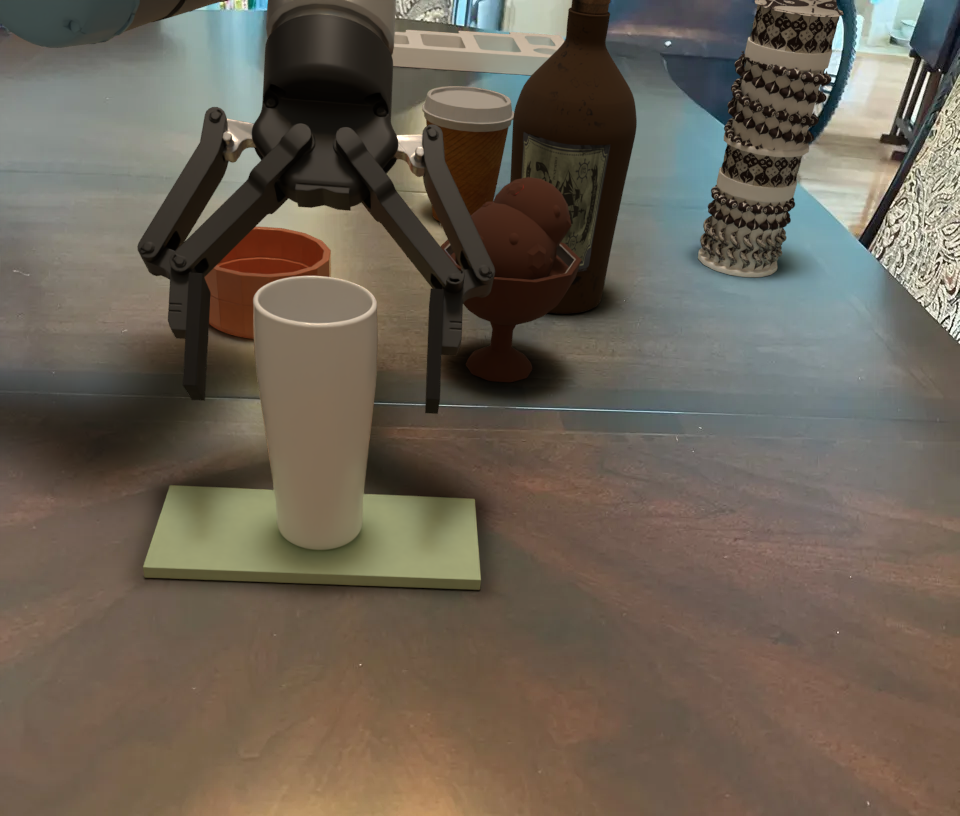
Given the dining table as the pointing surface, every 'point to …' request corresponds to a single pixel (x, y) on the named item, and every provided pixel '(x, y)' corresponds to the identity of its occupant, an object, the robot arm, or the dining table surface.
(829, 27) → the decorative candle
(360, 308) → the drinking glass
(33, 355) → the dining table surface
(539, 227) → the ice cream bowl
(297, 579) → the mat
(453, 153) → the disposable coffee cup
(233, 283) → the pot
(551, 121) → the olive oil
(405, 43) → the holder
